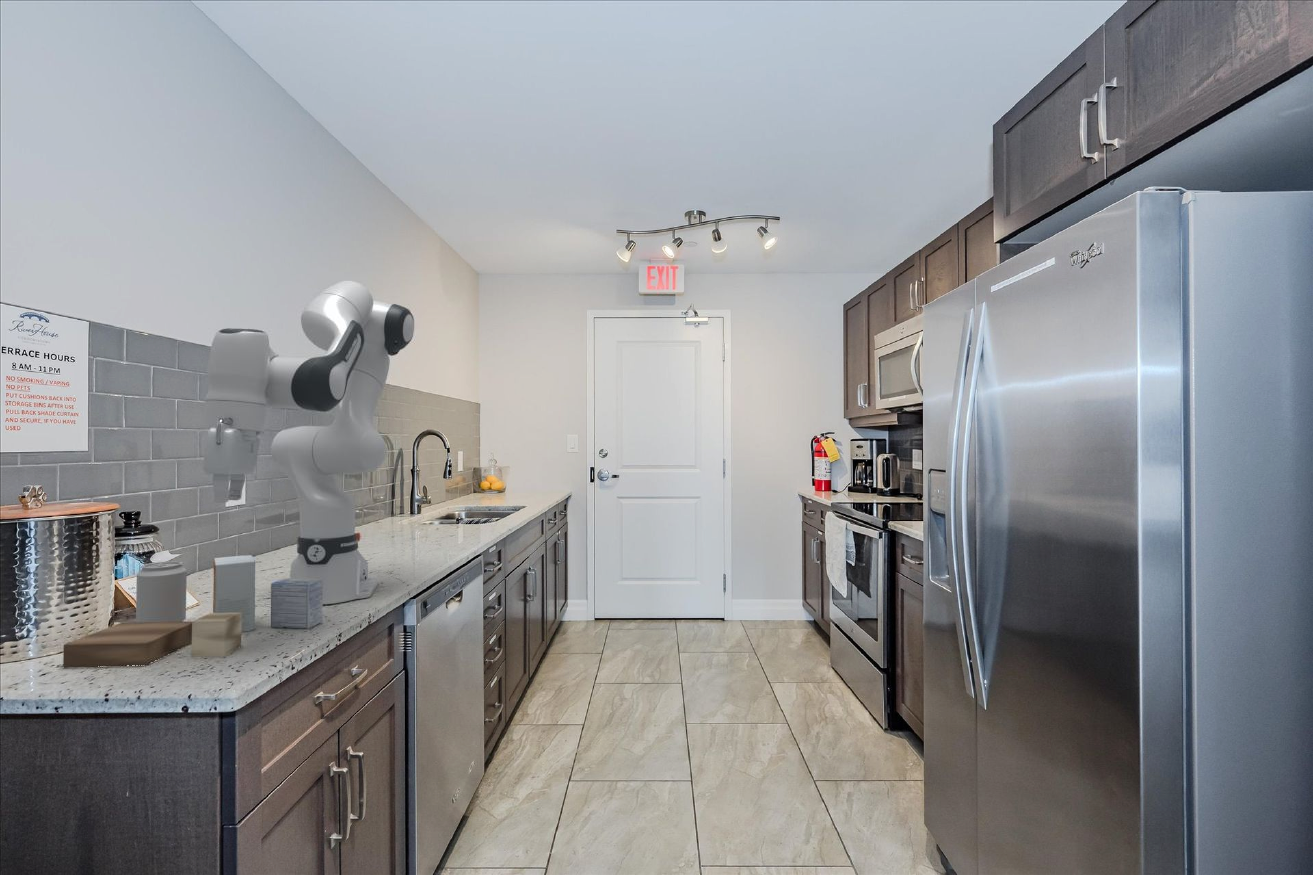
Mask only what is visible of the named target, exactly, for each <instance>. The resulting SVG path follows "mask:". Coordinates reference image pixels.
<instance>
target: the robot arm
mask: <svg viewBox="0 0 1313 875" xmlns="http://www.w3.org/2000/svg"><path fill="white" fill-rule="evenodd" d="M300 324H301V328H302V331H303V334H305V336H306V338H307V339H308V341H310V342H311V343H312V344H313V345H315V346H316V347H317V348H319V349H321V350H323V351H326V353H325V354H324V355H319V356H309V357H307V356H305V357H303V356H301V357H299V356H279V354H277V353H276V352H275V351H274V350H273V349H272V347H271V346H270V340H269V335H268V333H267V332H266V331H263V330H260V329H253V328H252V329H251V328H229V327H228V328H222V329H220V330H218V331H217V332H215V333H216V334H215V335H214V337H213V339H212V342H211V346H210V351H209V355H208V356H209V357H208V362H207V364H208V365H207V372H206V373H207V374H206V375H207V376H206V377H207V381H208V390H207V393H206V395H205V398H204V408H203V416H202V417H203V420H202V429H204V430H208V432H207V435H206V441H205V448H204V455H203V456H204V457H203V464H202V466H203V472H204V474H205V475H212V486H213V487H212V488H213V491H214V493H213V501H214V503H218V504H225V503H228V502H229V501H240V500H242V497H243V494H242V493H243V489H244V485H245V482H246V475H252V474H254V471H255V469H256V464H257V460H258V457H259V456H258V455H259V451H260V450H259V449H260V442H261V435H264V434H265V431H266V419H267V418H266V416H267V408H272V409H273V408H274V409H275V408H276V409H293V410H294V409H296V410H308V411H316V412H321V413H322V412H324V413H325V412H329V413H330V415H332V416H333V417H334V420H333V422H332V423H331V424H330V425H301V426H295V427H291V428H290V427H289V428H287V429H286V428H285V429H283V430H280V431H279V432H278V433H277V434H276V435H275V436H274V438H273V440H272V442H271V444H270V455H271V458H272V460H273V462H274V464H275V466H277V467H278V468H279V469H280V470H282V472H283V473H285V475H287V477H288V479H289V480H290V482H291V484H292V486H293V488H294V490H295V492H296V496H297V499H298V505H299V506H298V507H299V509H298V510H299V536H298V537H297V542H296V547H297V548H296V553H297V556H296V558H295V559H293V560H292V561H291V563H290V569H289V578H306V579H322V580H323V605H329V604H332V605H333V604H337V603H344V602H349V601H353V600H358V599H366V598H371V596H372V595H373V593H374V591H375V590H376V588H377V586H378V585H379V580H378V579H375V578H369V564H368V563H369V562H368V560H366V558H365V557H364V556H363V555H362V554H361V553H360V552H359V550H358V549H359V544H358V543H359V542H360V541H361V537H362V536H361V533H360V532H356V529H355V528H356V504H355V503H356V502H355V500H354V498H353V497H352V496H351V495H350V494H349V493H348V492H346V491H344V490H343V489H342V488H341V487H340V485H339V483H338V481H337V479H336V475H347V476H351V475H352V476H355V475H360V474H367V473H371V472H375V471H377V470H378V469H380V467H381V466H382V465H383V463H384V461H385V458H386V455H387V444H386V442H385V440H384V438H383V436H382V434H381V433H380V432H379V431H378V430H376V428H375V425H374V415H375V412H376V409H377V406H378V403H379V401H380V398H381V396H382V393H383V390H384V388H385V387H386V386H385V385H386V382H387V379H388V375H389V371H390V357H391V356H392V357H393V356H396V355H397V354H398V353H399V352H400V351H401V350H404V348H406V347H407V346H409V344H410V343H411V341H412V339H413V337H414V332H415V319H414V316H413V314H412V312H411V310H410V309H409V308H407V307H405V306H402V305H400V304H396V303H393V304H391V303H387V302H384V301H380V300H374V299H373V295H372V294H371V292H370V291H369V290H368V288H366V287H365V285H363V284H362V283H359V282H357V281H354V280H342V281H339V282H337V283H335V284H333V285H331V286H329V287H327V288H326V289H324V290H323V291H321V292H320V293H319V294H318V295H317V296H315V297H314V298H313V299H312V300H311V301H310V302H308V303H307V305H306V306H305V307H304V309H303V311H302V313H301V316H300Z"/></svg>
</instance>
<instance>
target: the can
mask: <svg viewBox="0 0 1313 875" xmlns="http://www.w3.org/2000/svg"><path fill="white" fill-rule="evenodd" d="M140 568H141V569H140V570H139V572H137V574H136V590H135V591H136V593H135V594H136V595H135V598H136V602H135V604H136V605H135V622H185V620H186V619H187V574H188V572H187V571H188V570H187V568H185V567H184V566H183V562H182V561H178V560H170V561H169V560H168V561H167V560H166V561H165V560H164V561H156V562H151V563H150V562H149V563H145V564H143V565H140Z"/></svg>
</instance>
